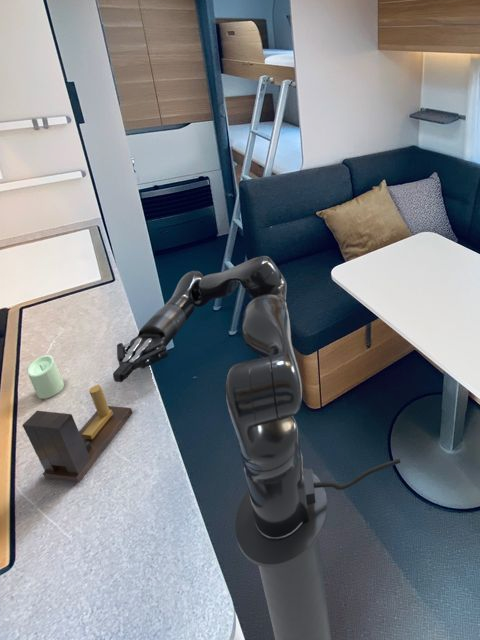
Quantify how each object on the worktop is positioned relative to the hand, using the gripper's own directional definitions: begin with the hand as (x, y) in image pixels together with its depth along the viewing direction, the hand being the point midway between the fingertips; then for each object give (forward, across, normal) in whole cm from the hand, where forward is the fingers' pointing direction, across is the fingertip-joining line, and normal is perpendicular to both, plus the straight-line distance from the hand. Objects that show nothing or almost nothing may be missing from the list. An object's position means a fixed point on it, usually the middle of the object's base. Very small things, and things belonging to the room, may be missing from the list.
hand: (116, 379), depth 89 cm
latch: (+10, 0, -7) cm, 12 cm away
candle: (-2, +20, -7) cm, 21 cm away
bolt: (+7, 0, -5) cm, 9 cm away
